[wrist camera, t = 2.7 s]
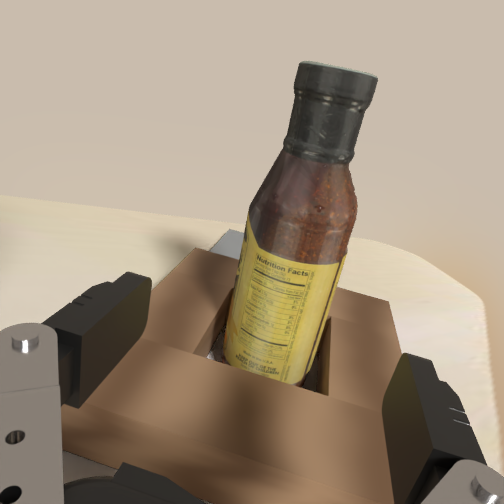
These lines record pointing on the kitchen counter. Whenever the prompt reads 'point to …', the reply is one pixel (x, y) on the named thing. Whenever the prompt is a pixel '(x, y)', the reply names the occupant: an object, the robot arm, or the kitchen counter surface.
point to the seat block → (244, 402)
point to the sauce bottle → (299, 229)
